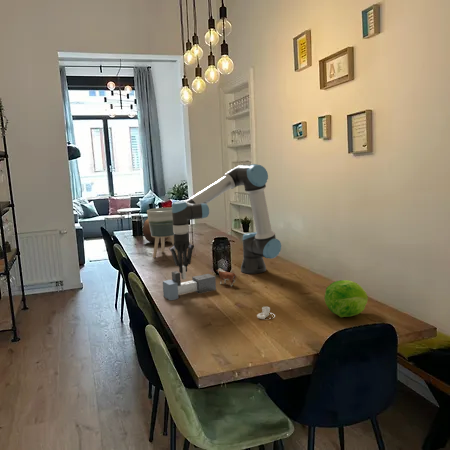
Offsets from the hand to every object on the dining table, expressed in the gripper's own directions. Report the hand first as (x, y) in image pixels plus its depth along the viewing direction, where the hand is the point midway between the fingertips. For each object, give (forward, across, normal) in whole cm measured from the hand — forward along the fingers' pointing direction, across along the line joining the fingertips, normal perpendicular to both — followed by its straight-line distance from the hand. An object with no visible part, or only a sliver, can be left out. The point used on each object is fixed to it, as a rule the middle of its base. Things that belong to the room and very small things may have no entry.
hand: (183, 278), depth 223 cm
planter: (+9, -29, -91) cm, 96 cm away
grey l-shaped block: (+7, 0, 0) cm, 7 cm away
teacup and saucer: (+9, -13, +47) cm, 50 cm away
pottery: (+9, -42, -137) cm, 144 cm away
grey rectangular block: (+9, -11, 0) cm, 14 cm away
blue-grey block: (+8, +8, 0) cm, 11 cm away
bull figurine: (+9, -26, -2) cm, 28 cm away
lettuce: (+9, -44, +69) cm, 82 cm away
